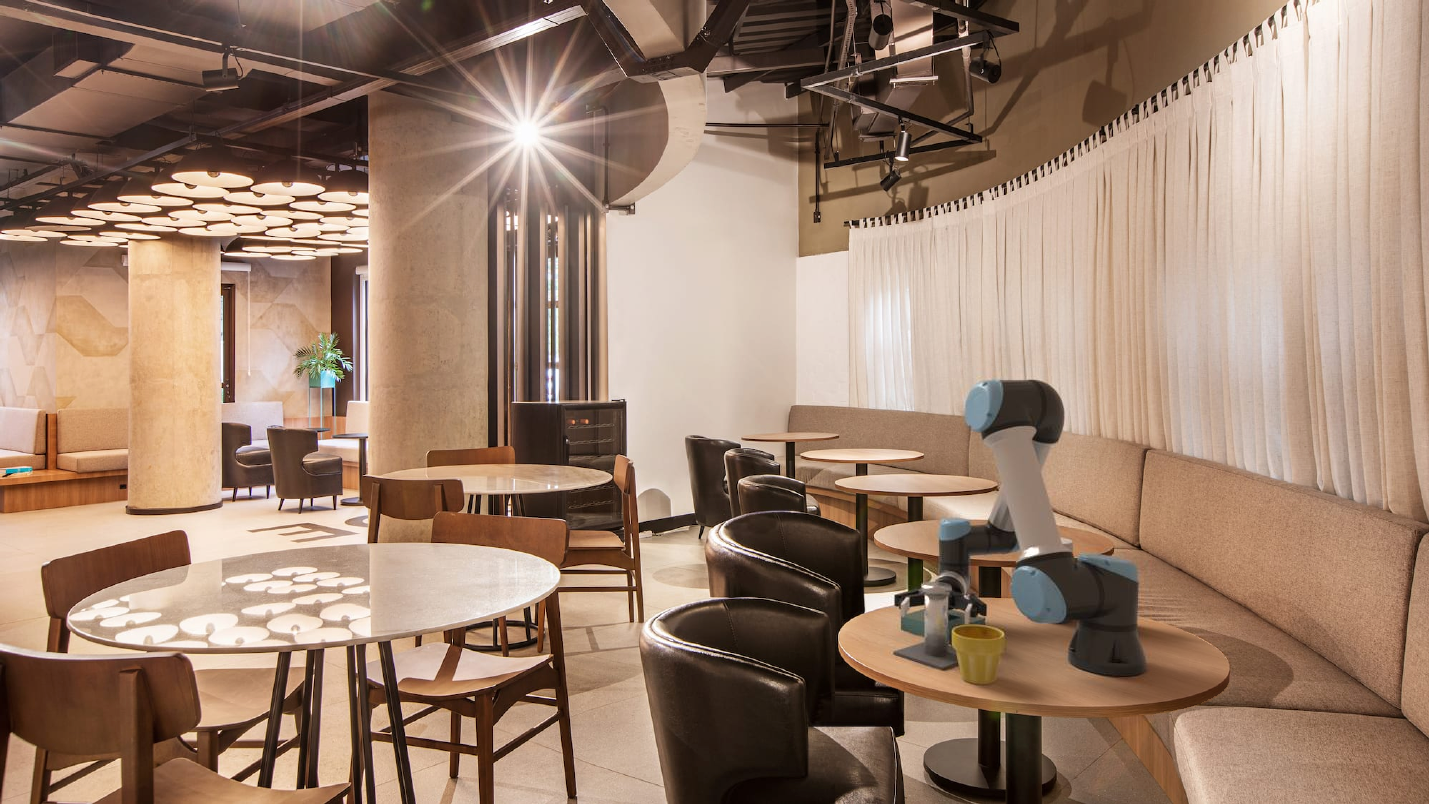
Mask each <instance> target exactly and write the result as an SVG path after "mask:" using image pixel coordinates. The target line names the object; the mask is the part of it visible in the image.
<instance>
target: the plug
mask: <svg viewBox="0 0 1429 804" xmlns="http://www.w3.org/2000/svg"><path fill="white" fill-rule="evenodd" d="M920 589H921V592H922V593H924V594H925V605H924V609H925V633H924V641H923V642H924V653H925V654H927V655H929V656H934V657H943V656H947V655H948V646H949V644H948V595H950V594H951V593H952V586H951V585H950V584H947V583H943V582H935V581H925V582H922V583H921V587H920Z"/></svg>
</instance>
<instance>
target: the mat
mask: <svg viewBox="0 0 1429 804" xmlns="http://www.w3.org/2000/svg"><path fill="white" fill-rule="evenodd" d="M892 652H893V653H892V654H893V655H895V656H898V657H900V658H904V659H907V660H909V661H913V662H915V663H919V664H922V665H925V666H928V667H931V668H933V669H937V670H940V671H944V670H947V669H950V668H953V667H956V666H959V663H958V659H957V654H956V650H955V649H954V648H953V646H952V645H948V655H947V656H943V657H934V656H929V655H927V654H925V653H924V641H922V642H920V643H916V644H913V645H910V646H907V647H904V648H900V649H898V650H895V651H892Z"/></svg>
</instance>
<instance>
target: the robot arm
mask: <svg viewBox="0 0 1429 804" xmlns="http://www.w3.org/2000/svg"><path fill="white" fill-rule="evenodd" d="M964 420H965V422H966V424H967V427H968V428H969V429H970V430H971V431H972V432H975V433H978V434H979V433H980V435H981V439H982V443H983V444H984V445H985V446H986V447H988V448H990V449H991V450H992V453H993V456H994V460H995V464H996V467H997V471H998V475H999V478H1000V482H1001V484H1000V487H999V489H998V492H997V495H996V498H995V500H994V504H993V505H992V509H991V511H990V514H989V517H988V519H987V521H986V524H977V525H976V524H974V525H972V524H971V521H970V520H969V519H967V518H962V517H945V518H943V519H940V522H939V528H938V535H937V536H938V555H939V556H938V573H937V574H938V575H937V577H936V579H935V581H934V582H943V583H947V584H950V585H951V586H952V593H951V594H950V595H948V610H959V611H960V610H961V612H964V613H965V624H969V622H970V620H971V617H973V618H975V617H976V616H979V615H980V617H987V615H988V613H987V612H988V611H987V610H988V609H987V608H988V605H987V603H986V602H984V601H983V600H981V599H980V598H979V597H977V596H976V593H973V592H972V593H969V594H967V592H968V591H969V590H970V587H971V586H972V574H971V571H970V570H971V568H970V567H971V557H973V556H974V557H975V556H977V557H978V556H987V555H988V556H989V555H1006V554H1011V553H1017V552H1018V551H1020V555H1019V556H1018V558H1017V559H1016V561H1015V565H1016V569H1015V571H1013V572H1012V575H1011V578H1010V579H1011V582H1010V593H1011V596H1012V599H1013V600H1012V601H1013V602H1014V605H1015V606H1016V608H1017V610H1019V612H1020V613H1021V614H1022V615H1023V616H1024V617H1026V618H1027V619H1028V620H1030V621H1031V622H1034V623H1036V624H1037V623H1038V624H1053V625H1054V624H1059V622H1062V623H1065V622H1064V621H1068V622H1071V621H1073V622H1074V621H1076V622H1077V623H1076V628H1075V630H1074V632H1073V635H1072V637H1071V641H1070V643H1069V646H1068V649H1067V660H1068V661H1067V662H1069V664H1071V665H1072V666H1074V667H1076V668H1078V669H1081V670H1083V671H1087V672H1091V673H1093V674H1094V673H1095V674H1099V675H1104V676H1105V675H1106V676H1114V677H1133V676H1138V675H1141V674H1144V673H1145V672H1146V670H1147V658H1146V655H1145V652H1144V649H1143V646H1142V643H1141V640H1140V637H1139V633H1138V613H1139V612H1138V611H1139V610H1138V609H1139V586H1140V585H1139V584H1140V581H1139V570H1138V569H1137V568H1138V567H1137V565H1136V564H1135V563H1134V562H1133V561H1131V560H1128V559H1125V558H1121V557H1116V556H1112V555H1108V554H1107V555H1106V554H1100V553H1090V552H1081V553H1079V555H1078V558H1076V559H1077V562H1076V559H1075V555H1074V551H1073V552H1072V551H1071V550H1070V549H1068V548H1066V547H1065V546H1063V545H1062V541H1061V538H1062V537H1061V535H1060V530H1059V528H1058V524H1057V521H1056V518H1055V515H1054V512H1053V508H1052V504H1051V500H1050V497H1049V494H1048V491H1047V487H1046V484H1045V481H1044V477H1043V474H1042V471H1043V468H1044V465H1045V463H1046V460H1047V458H1048V456H1049V453H1050V450H1051V449H1052V446H1053V445H1056V444H1057V443H1058V442H1059V440H1060V437H1061V435H1062V433H1063V429H1064V426H1065V420H1066V419H1065V406H1064V403H1063V400H1062V398H1061V396H1060V394H1059V393H1058V391H1057V390H1056V389H1055V388H1054V387H1053V386H1051V385H1050V384H1049V383H1047V382H1045V381H1043V380H1039V379H1015V380H1014V379H998V378H995V379H990V380H981V381H979V382H977V383H976V384H974V385H973V386H972V388H971V389H970V391H969V392H968V394H967V397H966V400H965V403H964ZM1060 537H1061V538H1060ZM966 594H967V595H966ZM893 603H894V604H893V605H894V606H895V607H897V608H898V609H899V610H900V618H901V617H904V616H905V615H906V614H908V612H909V610H910V608H914V607H921V606H925V594H924V593H922V592H921V587H916V588H914V589H911V590H908V591H902V592H900V593H897V594H894V602H893Z"/></svg>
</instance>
